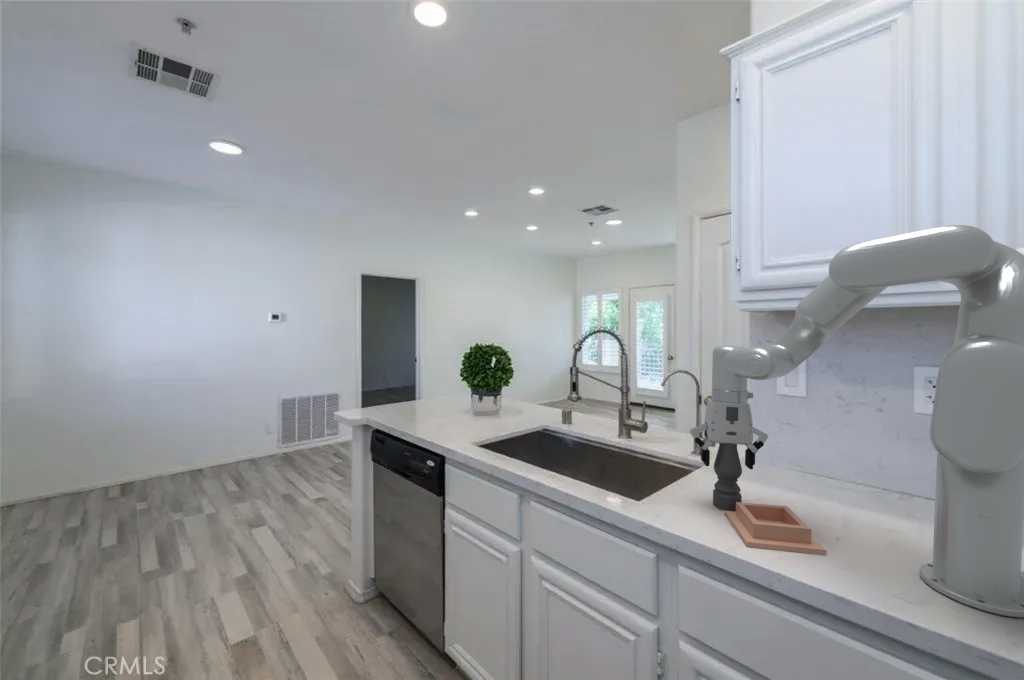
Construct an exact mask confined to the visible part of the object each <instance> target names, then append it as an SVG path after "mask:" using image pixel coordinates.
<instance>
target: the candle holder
mask: <svg viewBox="0 0 1024 680" xmlns="http://www.w3.org/2000/svg"><path fill="white" fill-rule="evenodd" d="M716 412H717V411H716ZM726 420H727V421H730V424H734V423H733V422H734V421H738V407H726ZM726 434H727V435H731V436H733V435H737V433H736V432H726ZM713 469H714V473H715V474H716V478H717V479H718V480H717V481H716V482H715V483H714V489H713V490H712V505H713V507H715V508H717V509H719V510H721V511H724V512H725V511H735V512H736V502H742V499H743V498H742V497H743V496H742V493H741V491H742V490H741V487H740V486H739V485H738V481H739V480H738V479H739V478H740V477H741V476H742V473H743V468H742V464H741V461H740V456H739V451H738V444H733V443H726V444H722V443H718V449H717V452H716V456H715V460H714V462H713ZM742 503H743V502H742Z"/></svg>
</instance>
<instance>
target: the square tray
mask: <svg viewBox="0 0 1024 680" xmlns="http://www.w3.org/2000/svg"><path fill="white" fill-rule="evenodd" d="M724 516H725V518H726V519H727V521H728V522H729V523H730V525H731V526H732V528H733V529H734V530H735V532H736V533H737V534H738V536H739V537H740V539H741V541H742V540H743V541H742V543H743V544H744V545H745V547H747V548H753V549H763V548H764V550H772V549H773V550H772V551H784V552H794V553H803V554H812V555H821V556H827V552H828V550H827V549H826V548H825V547H824V546H823V545H822V544H821V543H820V542H819V541H818V540H817V539H816V538H815V537H814V536H813V535H812V528H811V527H810V526H809V525H807V524H806V523H805V521H804V520H802V519H801V518H800V517H799V516H798V515H797V514H796V513H795V512H794V511H793V510H791V509H790V507H788V506H787V505H778V504H777V505H776V504H765V503H753V502H751V503H750V502H736V512H735V511H724Z"/></svg>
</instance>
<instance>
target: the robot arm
mask: <svg viewBox="0 0 1024 680" xmlns="http://www.w3.org/2000/svg"><path fill="white" fill-rule="evenodd" d="M936 281H940V282H943V283H948V284H951V285H953V286H955V287H956V289H958V291H959V294H960V303H959V307H958V308H959V309H958V314H957V324H956V325H957V326H956V331H955V337H954V341H953V342H954V343H953V346H952V347H951V348H949V349H948V350H947V352H945V353H944V355H943V356H942V358H941V361H940V364H939V367H938V372H937V379H936V385H935V391H934V392H935V393H934V398H933V405H932V412H931V418H930V425H929V439H930V443H931V445H932V446H933V448H934V450H935V452H937V453H936V454H937V456H936V471H935V489H934V490H935V491H934V513H933V514H934V517H933V519H934V520H933V542H932V543H933V546H932V562H926V563H924V564H922V565H920V567H919V575H920V578H921V579H922V580H923V581H924V582H925V583H926V584H927V585H928V586H929V587H931V588H933V589H934V590H936V591H937V592H938V593H941V594H943V595H944V596H946V597H948V598H950V599H952V600H954V601H956V602H959V603H962V604H965V605H966V606H969V607H973V608H975V609H978V610H982V611H985V612H988V613H991V614H997V615H1000V616H1006V617H1010V618H1011V617H1012V618H1013V617H1014V618H1024V570H1022V563H1023V561H1022V560H1023V539H1024V538H1023V537H1024V535H1023V534H1024V533H1023V532H1024V254H1023V253H1021V252H1020V251H1018V250H1016V249H1014V248H1012V247H1010V246H1008V245H1005V244H1003V243H1001V242H999V241H995V240H994V239H993V238H992V237H991V236H990V235H989V234H988V233H987V232H986V231H984V230H982V229H981V228H978V227H975V226H972V225H967V224H966V225H965V224H952V225H951V224H950V225H944V226H938V227H932V228H926V229H922V230H918V231H912V232H907V233H903V234H902V233H901V234H897V235H892V236H887V237H882V238H877V239H871V240H865V241H861V242H856V243H853V244H851V245H848V246H846V247H844V248H843V249H841V250H840V251H838V252H836V254H834V256H833V257H832V259H831V261H830V263H829V266H828V275H827V276H826V277H825V278H824V279H823V280H822V281H820V283H818V284H817V286H816V287H815V288H813V289H812V290H811V291H810V292H809V293H808V294H807V295H805V296H804V298H803V299H802V300H800V301H799V302H798V304H797V305H796V307H795V315H794V319H793V321H792V323H791V324H790V325H789V327H788V328H787V329H786V330H785V331H784V332H782V334H781V335H780V336H779V337H777V338H776V340H774V341H773V342H772V343H771V344H770V345H765V346H755V347H743V346H738V345H719V346H716V347H714V348H713V350H712V363H711V365H712V367H711V369H712V373H711V376H712V377H711V399H709V400H707V403H706V407H705V412H704V414H705V415H704V420H703V423H702V424H700V425H698V426H695V427H693V428H691V429H689V433H690V435H691V437H692V438H693V440H694V441H695V443H696V444H698V446H699V447H700V461H701V462H702V463H703V464H704V465H705V467H709V466H710V462H711V461H710V459H711V458H710V457H711V456H710V454H711V453H710V452H711V451H710V450H709V448H710V447H711V445H713V444H719V443H722V444H726V443H733V444H737V445H739V446H740V445H741V446H742V445H743V446H745V447H746V449H745V451H744V452H745V455H744V465H745V466H746V467H747V468H748V469H750V470H753V469H754V466H755V465H756V454H757V453H758V451H759V450H760V449H761V448H762V447H764V445H765V443H766V442H767V440H768V438H769V434H767V433H765V432H764V431H762V430H759V429H758V428H756V427H754V424H753V415H752V410H751V404H750V403H749V402H748V400H749V399H754V393H753V392H749V390H748V379H749V380H750V379H751V380H755V381H767V380H771V379H777V378H782V377H785V376H787V375H788V374H790V373H791V372H793V371H794V370H795V369H796V368H798V367H799V366H801V365H802V363H804V362H805V361H806V360H807V359H809V358H810V357H811V356H813V354H814V353H816V352H817V351H818V349H820V348H821V347H822V345H824V343H826V342H827V340H828V339H830V338H831V337H832V336H833V334H834V333H835V332H836V331H837V330H838V329H839V328H841V326H843V325H844V324H845V323H847V322H848V320H850V319H851V318H852V317H854V316H855V315H856V314H857V313H858V312H860V311H861V310H862V309H863V308H864V307H866V306H867V305H868V304H869V303H870V302H872V301H873V300H874V299H875V298H877V297H878V296H879V295H880V294H881V293H882V292H883V291H885V290H886V289H887V288H888V287H895V286H903V285H904V286H906V285H910V284H912V285H913V284H919V283H926V282H927V283H928V282H936ZM726 407H738V421H734V422H733V423H734V424H730V421H727V420H726ZM716 411H717V412H716ZM702 432H703V435H704V438H703V439H701V438H700V437H699V434H700V433H702ZM726 432H736V433H737V435H733V436H731V435H727V434H726ZM754 434H755V436H758V439H756V440H755V441H754V442H753V440H754Z"/></svg>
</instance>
